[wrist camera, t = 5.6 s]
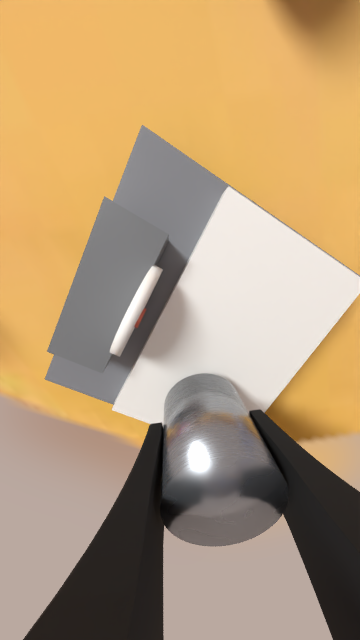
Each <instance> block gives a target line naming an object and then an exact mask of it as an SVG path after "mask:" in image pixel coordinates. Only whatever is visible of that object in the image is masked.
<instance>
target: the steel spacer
mask: <svg viewBox="0 0 360 640" xmlns="http://www.w3.org/2000/svg"><path fill="white" fill-rule="evenodd" d="M288 499H289V489H288V486H287V483H286V481H285V479H284V477H283V475H282V474H281V472H280V470H279V468H278V466H277V464H276V462H275V461H274V459H273V457H272V455H271V453H270V451H269V449H268V448H267V446H266V444H265V442H264V440H263V438H262V437H261V435H260V433H259V431H258V429H257V427H256V425H255V424H254V422H253V420H252V418H251V416H250V414H249V413H248V411H247V409H246V407H245V405H244V403H243V401H242V400H241V398H240V396H239V394H238V392H237V390H236V388H235V387H234V386H233V385H232V384H231V383H230V382H229V381H228V380H227V379H225V378H223V377H221V376H218V375H215V374H208V373H201V374H195V375H191V376H188V377H186V378H184V379H182V380H180V381H179V382H177V383H176V384H175V385H174V386H173V387H172V388H171V389H170V391H169V392H168V394H167V396H166V399H165V403H164V420H163V445H162V469H161V494H160V515H161V519H162V521H163V523H164V525H165V526H166V528H167V529H168V530H169V531H170V532H171V533H172V534H173V535H175V536H176V537H178V538H180V539H181V540H184V541H186V542H189V543H192V544H196V545H202V546H226V545H232V544H237V543H240V542H243V541H246V540H249V539H252V538H254V537H256V536H258V535H260V534H261V533H263V532H264V531H266V530H267V529H269V528H270V527H271V526H273V524H275V523H276V522H277V521H278V519H279V518H280V517H281V516H282V514H283V513H284V511H285V509H286V507H287V504H288Z"/></svg>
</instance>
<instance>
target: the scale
mask: <svg viewBox="0 0 360 640" xmlns="http://www.w3.org/2000/svg"><path fill="white" fill-rule="evenodd" d="M359 294H360V275H358V274H357V273H355V272H354V271H352V270H351V269H349V268H348V267H347V266H345V265H344V264H342V263H341V262H339V261H338V260H336V259H335V258H334V257H332V256H331V255H329V254H328V253H326V252H325V251H323V250H322V249H321V248H319V247H318V246H316V245H315V244H313V243H312V242H311V241H309V240H308V239H306V238H305V237H303V236H302V235H300V234H299V233H298V232H296V231H295V230H293V229H292V228H290V227H289V226H287V225H286V224H285V223H283V222H282V221H280V220H279V219H277V218H276V217H274V216H273V215H272V214H270V213H269V212H267V211H266V210H264V209H263V208H261V207H260V206H259V205H257V204H256V203H254V202H253V201H251V200H250V199H249V198H247V197H246V196H244V195H243V194H241V193H240V192H238V191H237V190H236V189H234V188H233V187H231V186H230V185H228V184H227V183H225V182H224V181H223V180H221V179H220V178H218V177H217V176H215V175H214V174H212V173H211V172H210V171H208V170H207V169H205V168H204V167H202V166H201V165H199V164H198V163H197V162H195V161H194V160H192V159H191V158H189V157H188V156H186V155H185V154H184V153H182V152H181V151H179V150H178V149H176V148H175V147H174V146H172V145H171V144H169V143H168V142H166V141H165V140H163V139H162V138H161V137H159V136H158V135H156V134H155V133H153V132H152V131H150V130H149V129H148V128H146V127H145V126H143V125H142V126H141V129H140V132H139V134H138V137H137V139H136V142H135V145H134V147H133V150H132V152H131V155H130V158H129V160H128V163H127V165H126V168H125V171H124V173H123V176H122V179H121V181H120V184H119V186H118V189H117V192H116V194H115V197H114V199H113V201H111V200H110V199H108V198H106V197H105V196H104V199H103V202H102V204H101V207H100V210H99V212H98V215H97V218H96V221H95V223H94V226H93V229H92V231H91V234H90V237H89V240H88V242H87V245H86V248H85V250H84V253H83V256H82V258H81V261H80V264H79V267H78V269H77V272H76V275H75V277H74V280H73V283H72V286H71V288H70V291H69V294H68V296H67V299H66V302H65V304H64V307H63V310H62V313H61V315H60V318H59V321H58V323H57V326H56V329H55V332H54V334H53V337H52V340H51V342H50V345H49V348H48V350H47V352H49V353H52V354H54V356H53V359H52V361H51V364H50V367H49V369H48V372H47V375H46V377H45V380H48V381H51V382H53V383H56V384H59V385H61V386H64V387H67V388H70V389H72V390H75V391H78V392H80V393H83V394H86V395H89V396H91V397H94V398H97V399H99V400H102V401H105V402H108V403H110V404H113V408H112V410H113V411H116V412H119V413H122V414H124V415H127V416H130V417H133V418H135V419H138V420H141V421H144V422H147V423H149V424H153V423H161V422H162V424H163V420H164V403H165V399H166V396H167V394H168V392H169V391H170V389H171V388H172V387H173V386H174V385H175V384H176V383H177V382H179V381H180V380H182V379H184V378H186V377H188V376H191V375H195V374H201V373H208V374H215V375H218V376H221V377H223V378H225V379H227V380H228V381H229V382H230V383H231V384H232V385H233V386H234V387H235V388H236V390H237V392H238V394H239V396H240V398H241V400H242V401H243V403H244V405H245V407H246V409H247V411H248V413H249V411H251V410H258V409H260V410H262V411H263V412H264V413H265V412H266V410H267V409H268V408H269V407H270V405H271V404H272V403H273V401H274V400H275V399H276V398H277V396H278V395H279V394H280V393H281V391H282V390H283V389H284V388H285V386H286V385H287V384H288V383H289V381H290V380H291V379H292V378H293V376H294V375H295V374H296V373H297V371H298V370H299V369H300V368H301V366H302V365H303V364H304V363H305V361H306V360H307V359H308V358H309V356H310V355H311V354H312V353H313V351H314V350H315V349H316V348H317V346H318V345H319V344H320V343H321V341H322V340H323V339H324V338H325V336H326V335H327V334H328V332H329V331H330V330H331V329H332V327H333V326H334V325H335V324H336V322H337V321H338V320H339V319H340V317H341V316H342V315H343V314H344V312H345V311H346V310H347V309H348V307H349V306H350V305H351V304H352V302H353V301H354V300H355V299H356V297H357V296H358V295H359Z"/></svg>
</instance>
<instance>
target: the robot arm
mask: <svg viewBox="0 0 360 640" xmlns="http://www.w3.org/2000/svg"><path fill="white" fill-rule="evenodd" d="M249 414H250V416H251V418H252V420H253V422H254V424H255V425H256V427H257V429H258V431H259V433H260V435H261V437H262V438H263V440H264V442H265V444H266V446H267V448H268V449H269V451H270V453H271V455H272V457H273V459H274V461H275V462H276V464H277V466H278V468H279V470H280V472H281V474H282V475H283V477H284V479H285V481H286V483H287V486H288V489H289V499H288V504H287V507H286V509H285V511H284V513H283V515H284V517H285V519H286V521H287V523H288V526H289V528H290V530H291V533H292V535H293V538H294V540H295V543H296V545H297V548H298V550H299V552H300V555H301V558H302V560H303V563H304V565H305V568H306V570H307V573H308V575H309V578H310V580H311V583H312V585H313V588H314V591H315V593H316V596H317V598H318V601H319V604H320V606H321V609H322V612H323V614H324V617H325V619H326V622H327V625H328V627H329V630H330V633H331V635H332V638H333V640H360V492H359V491H358V490H356V489H355V488H353V487H352V486H350V485H349V484H348V483H346V482H345V481H344V480H342V479H341V478H340V477H338V476H337V475H336V474H334V473H333V472H332V471H330V470H329V469H328V468H326V467H325V466H324V465H323V464H321V463H320V462H319V461H318V460H316V459H315V458H314V457H313V456H311V455H310V454H309V453H308V452H307V451H306V450H304V449H303V448H302V447H301V446H300V445H299V444H297V443H296V442H295V441H294V440H293V439H292V438H291V437H289V436H288V435H287V434H286V433H285V432H284V431H283V430H282V429H281V428H280V427H279V426H277V425H276V424H275V423H274V422H273V421H272V420H271V419H270V418H269V417H268V416H267V415H266V414H265V413H264V412H263V411H262V410H260V409H258V410H251V411H249ZM162 445H163V424H162V422H161V423H153V424H151V425H150V426H149V429H148V432H147V435H146V437H145V440H144V443H143V445H142V448H141V450H140V453H139V455H138V457H137V459H136V461H135V464H134V466H133V468H132V470H131V472H130V474H129V476H128V478H127V480H126V482H125V485H124V487H123V488H122V490H121V492H120V494H119V496H118V498H117V500H116V502H115V503H114V505H113V507H112V509H111V510H110V512H109V514H108V516H107V517H106V519H105V521H104V522H103V524H102V526H101V527H100V529H99V531H98V532H97V534H96V535H95V537H94V539H93V540H92V542H91V543H90V545H89V547H88V548H87V550H86V551H85V553H84V554H83V556H82V557H81V559H80V560H79V562H78V563H77V565H76V566H75V568H74V569H73V571H72V572H71V573H70V575H69V577H68V578H67V579H66V581H65V582H64V584H63V585H62V587H61V588H60V590H59V591H58V593H57V594H56V595H55V597H54V598H53V600H52V601H51V602H50V604H49V605H48V606H47V608H46V609H45V611H44V612H43V613H42V615H41V616H40V618H39V619H38V620H37V622H36V623H35V624H34V625H33V627H32V628H31V629H30V631H29V632H28V634H27V635H26V636H25V638H24V639H23V640H163V536H164V523H163V521H162V519H161V515H160V494H161V469H162Z"/></svg>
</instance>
